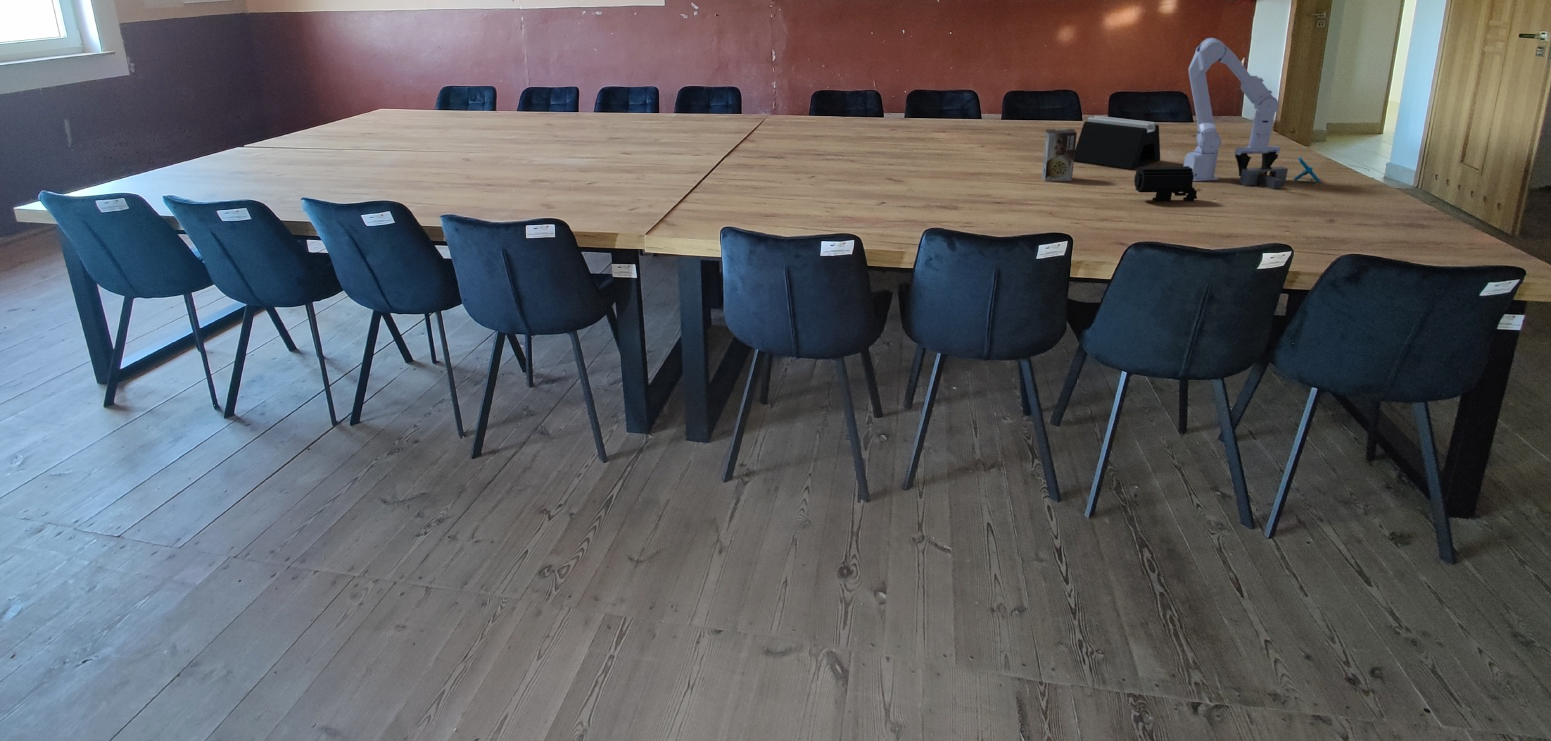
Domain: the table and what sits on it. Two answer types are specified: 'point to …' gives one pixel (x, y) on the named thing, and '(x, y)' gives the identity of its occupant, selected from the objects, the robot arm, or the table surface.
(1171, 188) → the security camera
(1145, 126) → the device stand
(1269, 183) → the plug
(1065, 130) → the coffee box
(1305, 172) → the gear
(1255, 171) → the housing
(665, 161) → the table surface
